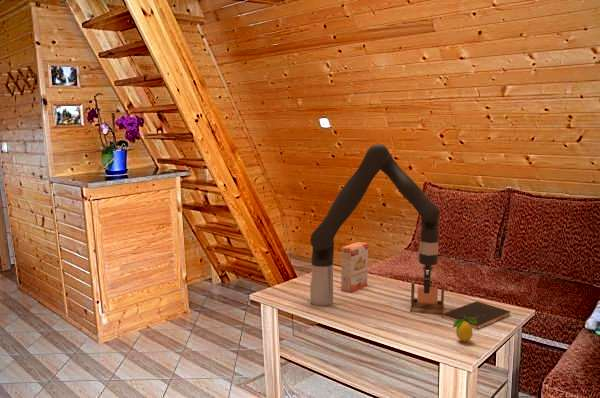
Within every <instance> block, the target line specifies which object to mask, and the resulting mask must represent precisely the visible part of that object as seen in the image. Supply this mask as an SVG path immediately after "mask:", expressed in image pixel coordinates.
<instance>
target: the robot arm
mask: <svg viewBox="0 0 600 398" xmlns="http://www.w3.org/2000/svg"><path fill="white" fill-rule="evenodd" d="M380 171H382V172H383V174H385V175H386V176H387V177H388V178H389V180H390V181H391V182H392V184H393V185H394V186H395V188H396V189H397V190H398V192H400V194H401V195H402V196H403V198H404V199H406V200H407V201H408V203H409V204H411V206H412V207H413V208H414V209H415V210H416V212H417V213H418V215H420V217H421V219H420V220H421V222H420V223H421V224H420V225H421V229H420V238H419V239H420V241H419V247H418V248H419V251H418V252H419V253H418V262H419V264H421V265H423V267H422V274H423V275H422V280H423V283H422V284H423V286H424V293H427V294H429V291H430V287H431V280H432V279H433V278H432V277H433V272H434V267H433V266H435V265H437V264H438V263H439V261H438V260H439V228H438V225H439V217H440V214H441V213H440V209H439V207H438V206H437V204H435V203H433V202H432V201H431V200H430V199H429V198H428V197H427V195H426V194H425V193H424V191H423V190H422V189H421V187H419V185H418V184H416V182H415V181H414V180H413V179H412V177H410V176H409V175H408V174H407V173H406V172H405V171H404V170H403V169H402V168H401V167H400V166H399V164H398V163H397V162H396V160H395V159H394V158H393V155H392V154H391V153H390V151H389V149H388V147H387V146H386V145H384V144H381V143H375V144H373V145H371V146H370V147H369V148H368V149H367V150H366V152H365V155H364V157H363V159H362V161H361V163H360V164H359V166H358V168H357V169H356V170H355V172H354V173H353V174H352V175H351V177H350V178H349V179H348V180H347V182H346V183H345V184H344V185H343V187H342V188H341V189H340V190H339V192H338V194H337V196H336V198H334V201H333V202H332V204H331V207H330V209H329V210H328V212H327V215H326V216H325V218H324V219H323V220H322V222H320V224H319V225H318V226H317V227H316V228H315V229H314V230H313V231H312V232H311V235H310V246H311V247H312V253H311V281H310V287H309V288H310V293H309V294H310V304H312V305H315V306H319V307H320V306H322V307H325V306H327V307H328V306H330V305H332V304H333V303H334V254H335V253H334V251H335V250H334V249H335V247H334V246H335V237H336V234H337V233H338V231H339V229H340V228H341V227H342V226H343V224H344V223H345V222H346V221H347V220H348V219H349V218H350V216H351V215H352V213H354V211H355V210H356V208H357V207H358V206H359V204H360V202H361V201H362V200H363V198H364V197H365V194H366V193H367V190H368V189H369V186H370V185H371V184H372V183H371V182H372V181H373V179H374V178H375V177H376V175H377V174H378V173H379V172H380Z"/></svg>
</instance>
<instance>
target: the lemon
mask: <svg viewBox="0 0 600 398" xmlns="http://www.w3.org/2000/svg"><path fill="white" fill-rule="evenodd" d="M467 319H468V321H469V322H471V323H473V324H476V323H477V321H476V319H475V318H473V317H467ZM463 320H464V321H463ZM463 320H462V319H459V320H457V321H455V322H453V325H452V328H454V329H455V331H456V332H455V333H456V337H457V338H458V339H459V340H461V342H467V341H470V340H471V339H472V336H473V328H472V327H471V325H470V324H469V323H468V322H466V321H465V315H464V319H463Z"/></svg>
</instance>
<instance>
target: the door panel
mask: <svg viewBox="0 0 600 398" xmlns="http://www.w3.org/2000/svg"><path fill="white" fill-rule="evenodd" d="M438 291H439V287H437V286H430V291H429V294H427V293H424V285H418V286H417V298H416V299H417V303H424V304H436V305H437V300H438V297H439V295H438V294H439V293H438Z"/></svg>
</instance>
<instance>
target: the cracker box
mask: <svg viewBox="0 0 600 398" xmlns="http://www.w3.org/2000/svg"><path fill="white" fill-rule="evenodd" d="M368 262H369V243H367V242H362V241H357V242H353V243H351V244H348V245H344V246H341V277H340V278H341V289H340V290H341V291H344V292H349V293H353V292H355V291H357V290H359V289H362V288H364V287H366V286H368V270H369V269H368V267H369V265H368V264H369V263H368Z"/></svg>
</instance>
